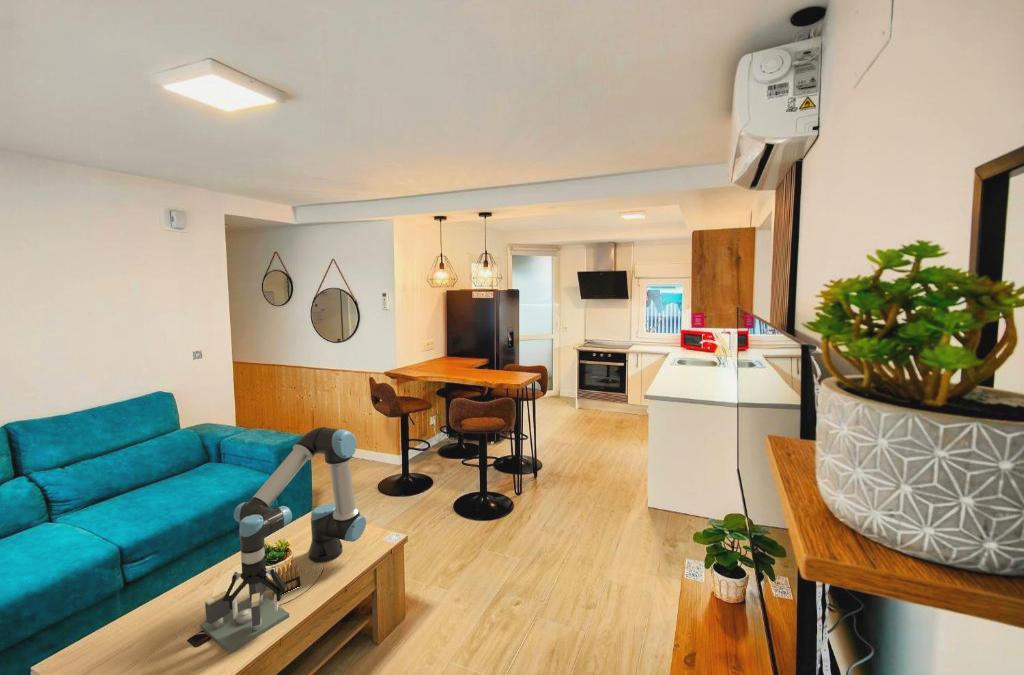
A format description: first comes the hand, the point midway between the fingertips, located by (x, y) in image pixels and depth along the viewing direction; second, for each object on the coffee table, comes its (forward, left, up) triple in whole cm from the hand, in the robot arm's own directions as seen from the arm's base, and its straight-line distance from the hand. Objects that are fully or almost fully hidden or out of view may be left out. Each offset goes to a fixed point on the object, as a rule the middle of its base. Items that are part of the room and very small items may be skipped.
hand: (256, 612), depth 170 cm
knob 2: (0, 0, -6) cm, 6 cm away
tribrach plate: (0, -9, -8) cm, 11 cm away
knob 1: (+7, -13, -6) cm, 16 cm away
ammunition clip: (-19, -13, -8) cm, 24 cm away
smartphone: (+9, -14, -8) cm, 18 cm away
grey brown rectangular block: (-7, -13, -6) cm, 16 cm away
